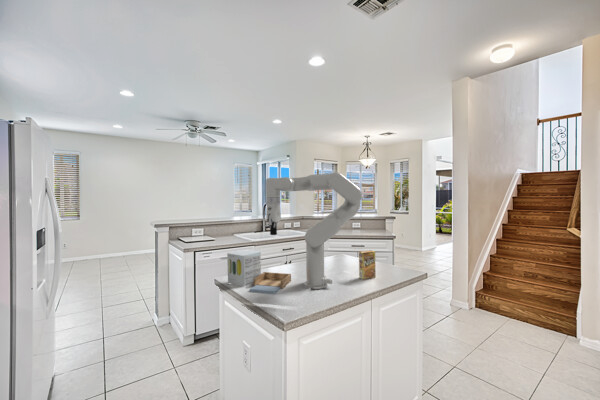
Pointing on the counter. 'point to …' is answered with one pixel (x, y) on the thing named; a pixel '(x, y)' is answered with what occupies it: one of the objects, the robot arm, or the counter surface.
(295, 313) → the counter surface
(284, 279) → the crate
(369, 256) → the candy box
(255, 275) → the supplement box
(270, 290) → the panel
